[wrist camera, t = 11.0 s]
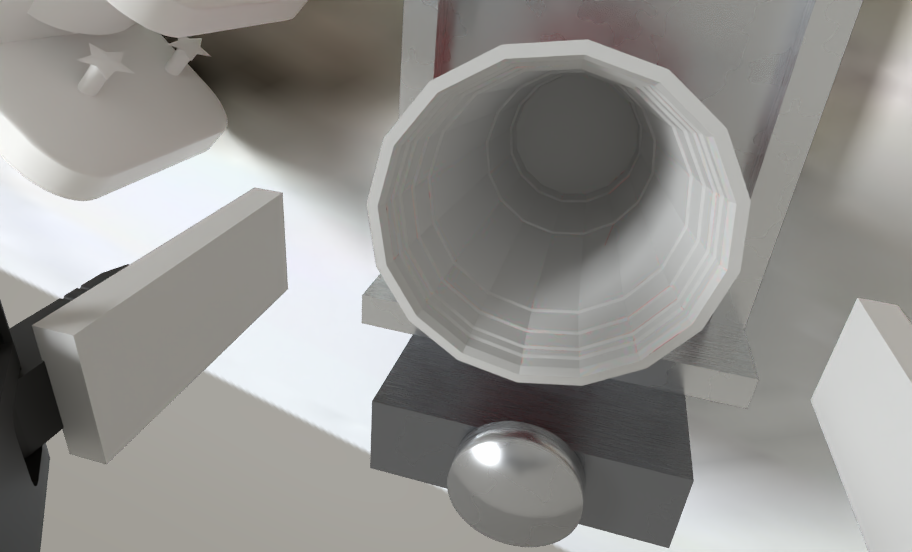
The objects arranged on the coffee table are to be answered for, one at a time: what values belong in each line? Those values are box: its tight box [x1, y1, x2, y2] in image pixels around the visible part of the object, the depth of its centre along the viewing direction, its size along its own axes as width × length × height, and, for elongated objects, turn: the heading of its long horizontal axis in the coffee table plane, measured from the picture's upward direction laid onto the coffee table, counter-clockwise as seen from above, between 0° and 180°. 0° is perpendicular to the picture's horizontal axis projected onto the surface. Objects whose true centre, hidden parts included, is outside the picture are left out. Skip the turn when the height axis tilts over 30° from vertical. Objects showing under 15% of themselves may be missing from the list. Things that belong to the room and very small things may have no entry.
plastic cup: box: [366, 39, 751, 386], centre depth 23 cm, size 11×11×12 cm
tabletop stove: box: [362, 0, 863, 548], centre depth 24 cm, size 22×17×12 cm
